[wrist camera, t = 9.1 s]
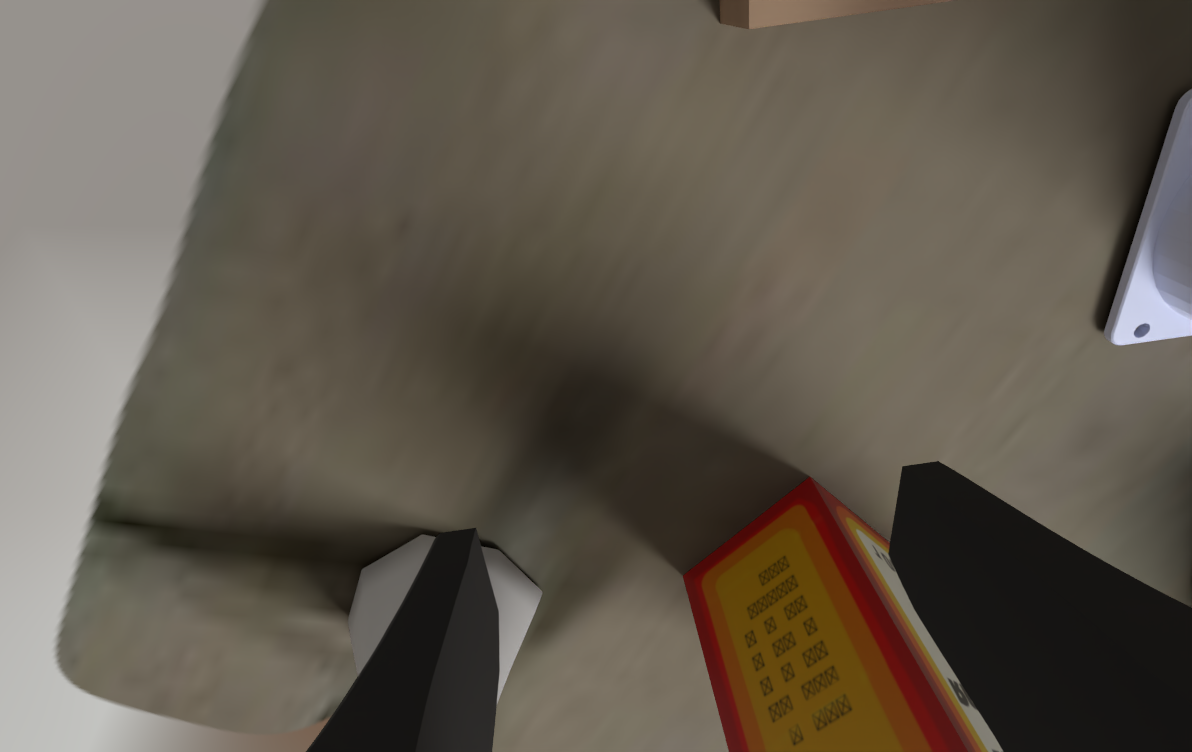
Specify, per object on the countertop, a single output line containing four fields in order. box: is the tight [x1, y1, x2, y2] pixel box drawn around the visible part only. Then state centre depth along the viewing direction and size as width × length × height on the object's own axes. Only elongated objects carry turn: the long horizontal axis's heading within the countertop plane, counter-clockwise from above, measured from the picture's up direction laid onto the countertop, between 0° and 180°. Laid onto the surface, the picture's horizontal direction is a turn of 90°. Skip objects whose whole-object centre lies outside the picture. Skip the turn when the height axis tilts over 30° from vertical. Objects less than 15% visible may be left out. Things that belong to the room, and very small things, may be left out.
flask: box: [348, 534, 543, 702], centre depth 22 cm, size 7×7×10 cm
